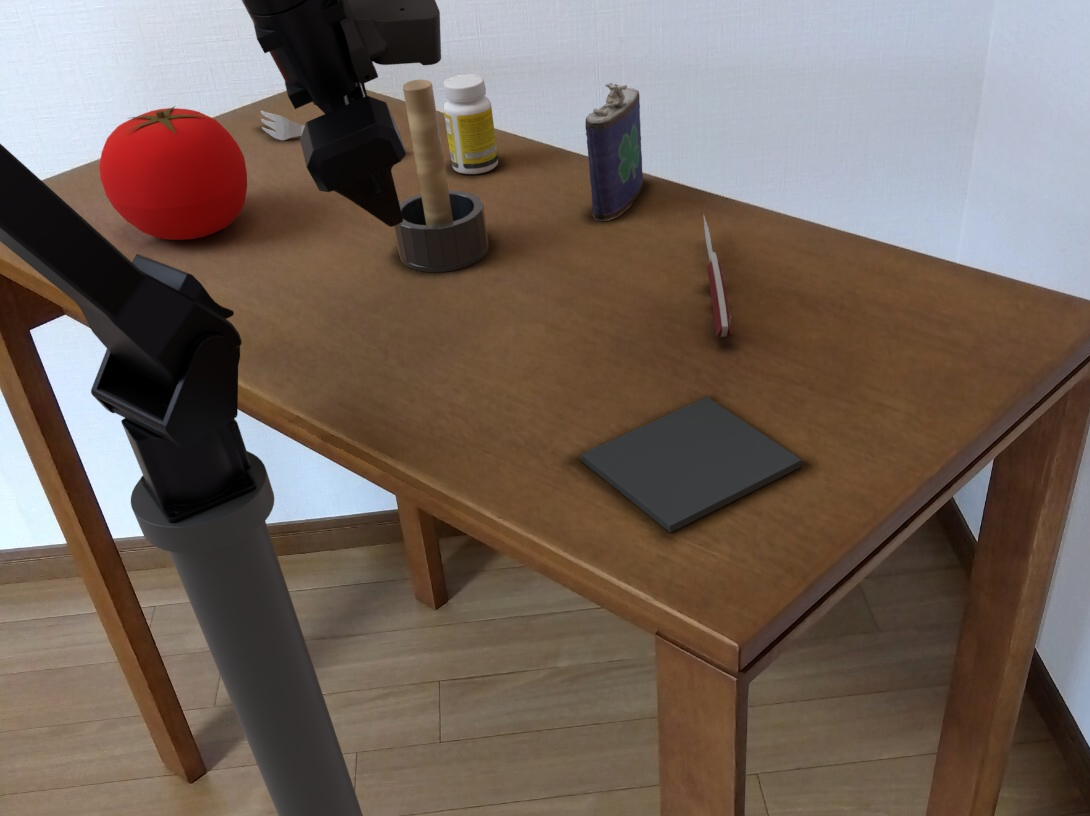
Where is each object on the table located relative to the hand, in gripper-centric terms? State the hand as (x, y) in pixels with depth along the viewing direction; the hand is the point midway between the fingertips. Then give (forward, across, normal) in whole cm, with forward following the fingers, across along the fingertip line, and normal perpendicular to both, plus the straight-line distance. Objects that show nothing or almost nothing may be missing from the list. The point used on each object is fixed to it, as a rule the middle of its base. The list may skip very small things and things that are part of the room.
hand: (385, 187), depth 85 cm
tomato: (+12, +24, +21) cm, 34 cm away
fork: (+19, +40, +8) cm, 45 cm away
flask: (+20, +14, -18) cm, 30 cm away
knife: (+17, -5, -21) cm, 28 cm away
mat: (+10, -28, -13) cm, 32 cm away
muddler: (+14, +10, -1) cm, 17 cm away
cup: (+15, +10, -1) cm, 18 cm away
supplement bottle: (+20, +28, -6) cm, 35 cm away
